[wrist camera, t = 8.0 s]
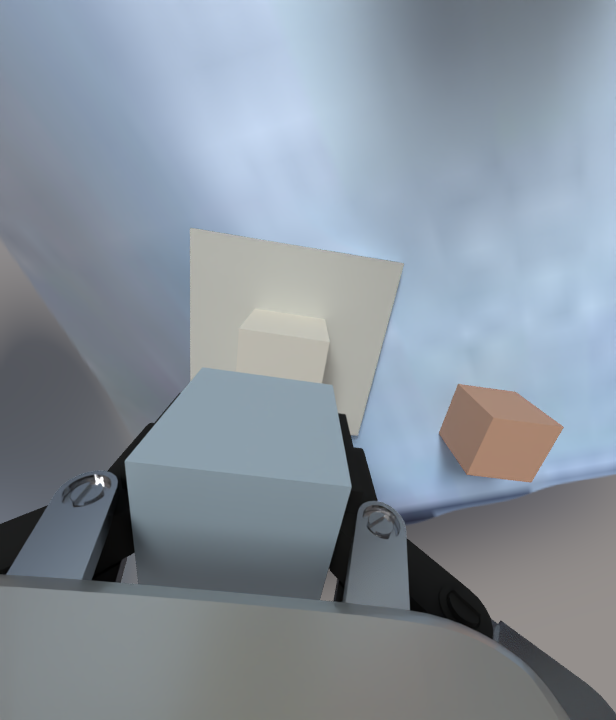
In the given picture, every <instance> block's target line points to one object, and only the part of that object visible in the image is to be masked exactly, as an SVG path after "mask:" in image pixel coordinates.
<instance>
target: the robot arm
mask: <svg viewBox="0 0 616 720" xmlns="http://www.w3.org/2000/svg"><path fill="white" fill-rule="evenodd" d="M180 394H181V393H179V394H178V396H179V395H180ZM178 396H177V397H178ZM177 397H176V398H175V399H174V400H173V402H174V401H175V400H176V399H177ZM173 402H172V403H173ZM172 403H171V404H170V405H169V406H168V408H169V407H170V406H171V405H172ZM168 408H167V409H168ZM167 409H166V410H165V411H164V412H163V414H164V413H165V412H166V411H167ZM163 414H162V415H163ZM162 415H161V416H160V417H159V418H158V419H157V421H158V420H159V419H160V418H161V417H162ZM338 416H339V422H340V427H341V432H342V438H343V443H344V448H345V454H346V459H347V465H348V470H349V475H350V481H351V486H352V488H351V491H350V495H349V498H348V502H347V505H346V509H345V512H344V516H343V519H342V523H341V526H340V530H339V534H338V537H337V541H336V544H335V548H334V551H333V555H332V558H331V562H330V565H329V569H330V571H331V572H332V573H333V574H334V575H335V576H336V577H337V584H336V590H335V595H334V601H333V602H332V601H322V600H311V599H300V598H290V597H279V596H268V595H257V594H245V593H234V592H223V591H211V590H200V589H188V588H176V587H165V586H153V585H140V584H128V583H121V579H122V576H123V572H124V568H125V565H126V561H127V557H128V556H129V555H131V554H133V553H135V550H134V541H133V532H132V523H131V514H130V505H129V496H128V487H127V479H126V470H125V460H126V459H127V458H128V456H129V455H130V454H131V453H132V452H133V450H134V449H135V448H136V447H137V446H138V444H139V443H140V442H141V441H142V439H143V438H144V437H145V436H146V435H147V433H148V432H149V431H150V430H151V429H152V427H153V426H154V425H155V424H156V423H157V421H156V422H155V423H149V424H148V425H147V426H146V427H145V428H144V429H143V431H142V432H141V433H140V434H139V435H138V436H137V437H136V439H135V440H134V441H133V442H132V443H131V444H130V445H129V447H128V448H127V449H126V450H125V451H124V452H123V454H122V455H121V456H120V457H119V458H118V459H117V461H116V462H115V463H114V464H113V465H112V466H111V467H110V469H109V470H108V471H93V472H87V473H84V474H81V475H78V476H76V477H74V478H72V479H70V480H69V481H67V482H66V483H65V484H63V485H62V486H61V487H60V488H59V489H58V491H57V492H56V493H55V495H54V496H53V498H52V500H51V501H50V503H49V505H47V506H45V507H42V508H40V509H37V510H35V511H32V512H30V513H27V514H24V515H22V516H19V517H17V518H14V519H12V520H9V521H7V522H4V523H2V524H0V720H616V714H615V712H614V711H613V709H612V708H611V707H610V706H609V705H608V704H607V702H606V701H605V700H604V699H603V698H602V696H601V695H599V694H598V693H597V692H596V691H595V690H594V689H593V688H592V687H590V686H589V685H588V684H587V683H585V682H584V681H583V680H581V679H580V678H579V677H577V676H576V675H574V674H573V673H572V672H570V671H569V670H567V669H566V668H565V667H564V666H562V665H560V664H559V663H558V662H557V661H555V660H554V659H553V658H551V657H550V656H548V655H547V654H546V653H544V652H543V651H542V650H540V649H539V648H537V647H536V646H535V645H533V644H532V643H531V642H529V641H528V640H527V639H525V638H524V637H522V636H521V635H520V634H518V633H517V632H516V631H514V630H513V629H512V628H510V627H509V626H507V625H506V624H505V623H503V622H502V621H500V622H499V623H498V624H497V623H496V622H494V621H493V620H492V619H491V618H490V616H489V614H488V612H487V610H486V608H485V607H484V605H483V604H482V602H481V601H480V600H479V598H478V597H477V596H475V595H474V594H473V593H472V592H471V591H470V590H469V589H468V588H467V587H466V586H464V585H463V584H462V583H461V582H459V581H458V580H457V579H456V578H455V577H453V576H452V575H451V574H450V573H448V572H447V571H446V570H445V569H444V568H442V567H441V566H440V565H439V564H438V563H436V562H435V561H434V560H433V559H431V558H430V557H429V556H427V554H425V553H424V552H423V551H422V550H420V549H419V548H418V547H417V546H416V545H414V544H413V543H412V542H411V541H409V540H408V539H407V538H406V528H405V523H404V521H403V519H402V517H401V516H400V515H399V514H398V512H397V511H396V510H395V509H393V508H392V507H391V506H389V505H387V504H385V503H383V502H379V501H377V497H376V494H375V490H374V486H373V483H372V479H371V475H370V472H369V468H368V465H367V461H366V457H365V454H364V451H363V449H362V448H354V447H353V444H352V439H351V435H350V431H349V426H348V422H347V418H346V414H341V413H338Z"/></svg>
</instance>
